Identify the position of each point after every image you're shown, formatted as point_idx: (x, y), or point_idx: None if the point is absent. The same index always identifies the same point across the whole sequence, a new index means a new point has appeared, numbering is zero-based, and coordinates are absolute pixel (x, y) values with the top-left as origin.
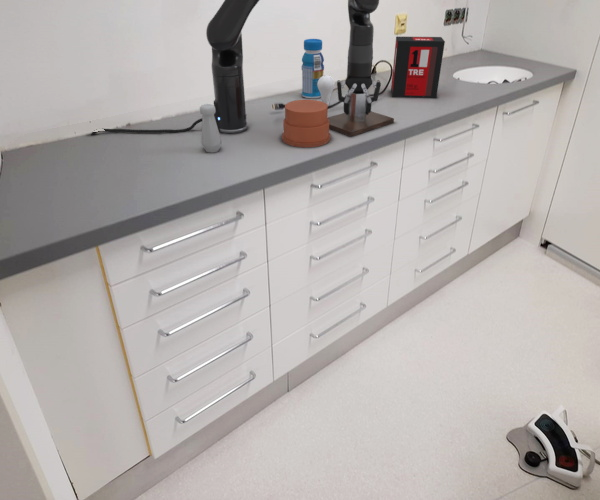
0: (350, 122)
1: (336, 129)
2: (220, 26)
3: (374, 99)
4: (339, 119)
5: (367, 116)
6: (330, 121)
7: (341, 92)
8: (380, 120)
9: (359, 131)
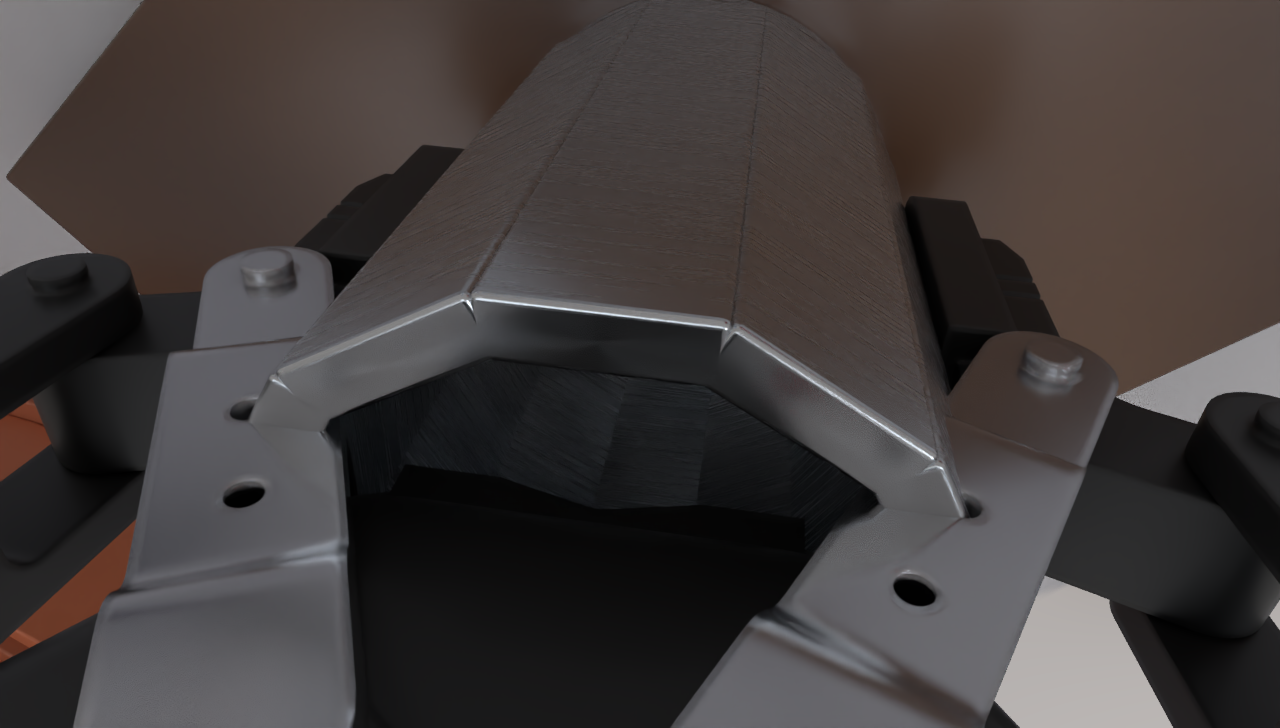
0: None
1: None
2: None
3: (1133, 618)
4: (362, 168)
5: (984, 8)
6: (222, 258)
7: (10, 627)
8: (1167, 293)
9: None
